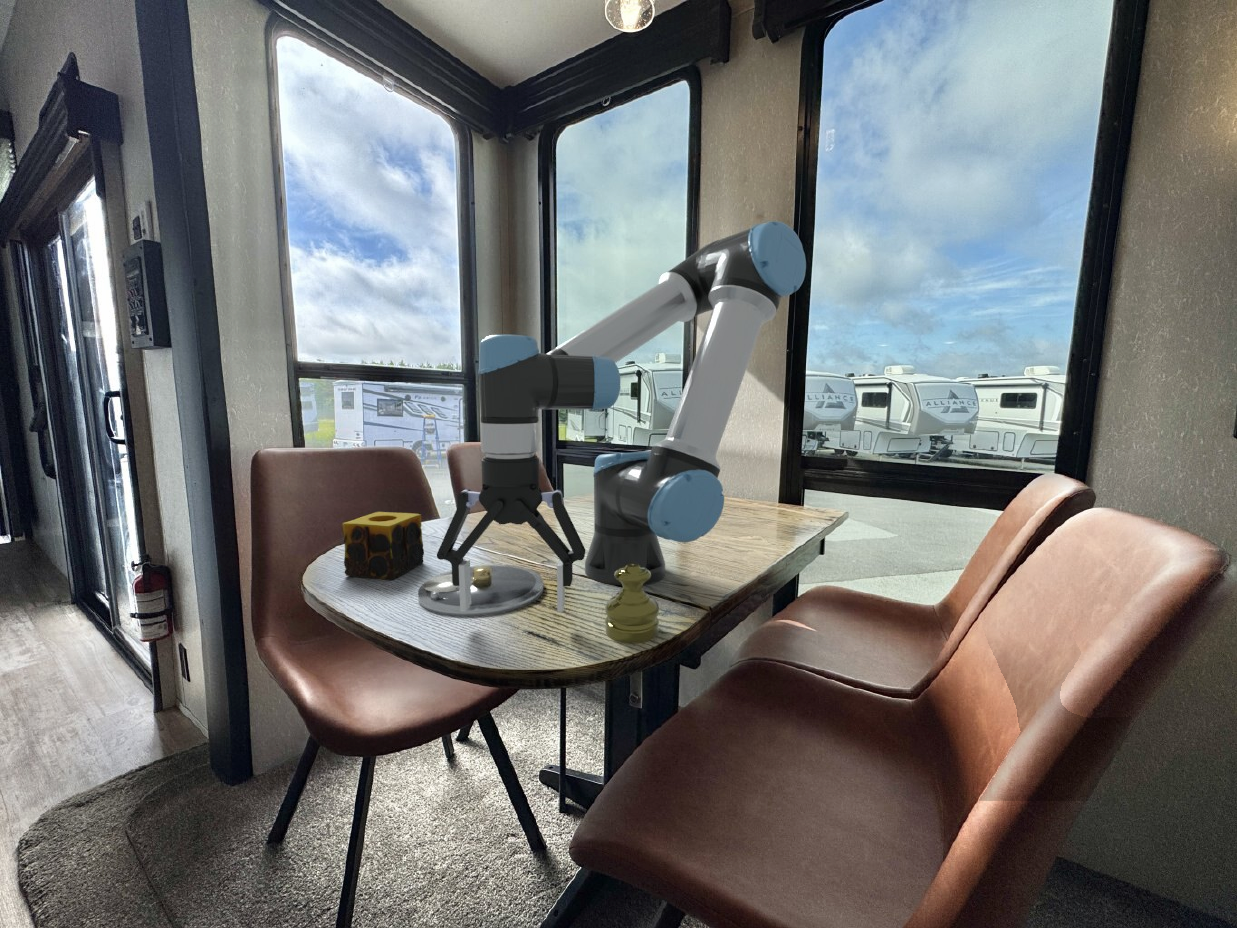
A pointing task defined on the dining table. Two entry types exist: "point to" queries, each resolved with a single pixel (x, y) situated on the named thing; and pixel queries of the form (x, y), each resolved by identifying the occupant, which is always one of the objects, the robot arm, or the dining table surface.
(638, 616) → the gold pawn
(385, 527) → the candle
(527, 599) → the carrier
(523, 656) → the dining table surface
